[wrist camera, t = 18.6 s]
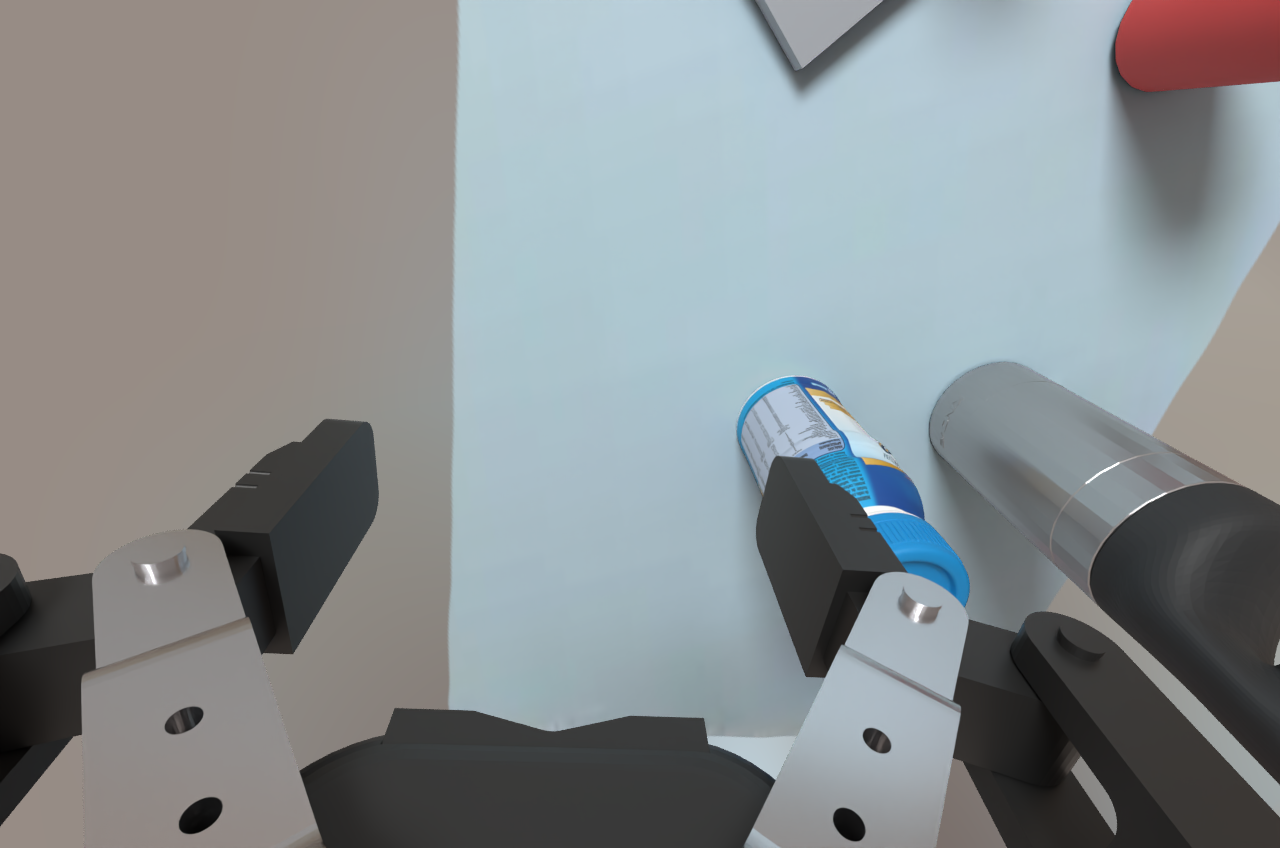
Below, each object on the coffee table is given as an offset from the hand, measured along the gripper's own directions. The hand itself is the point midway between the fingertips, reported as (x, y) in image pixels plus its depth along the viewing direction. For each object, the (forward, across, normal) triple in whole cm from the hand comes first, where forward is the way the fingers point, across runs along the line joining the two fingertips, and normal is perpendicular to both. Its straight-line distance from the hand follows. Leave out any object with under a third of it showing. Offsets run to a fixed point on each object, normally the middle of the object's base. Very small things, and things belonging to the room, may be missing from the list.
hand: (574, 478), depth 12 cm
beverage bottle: (+30, -16, +12) cm, 36 cm away
